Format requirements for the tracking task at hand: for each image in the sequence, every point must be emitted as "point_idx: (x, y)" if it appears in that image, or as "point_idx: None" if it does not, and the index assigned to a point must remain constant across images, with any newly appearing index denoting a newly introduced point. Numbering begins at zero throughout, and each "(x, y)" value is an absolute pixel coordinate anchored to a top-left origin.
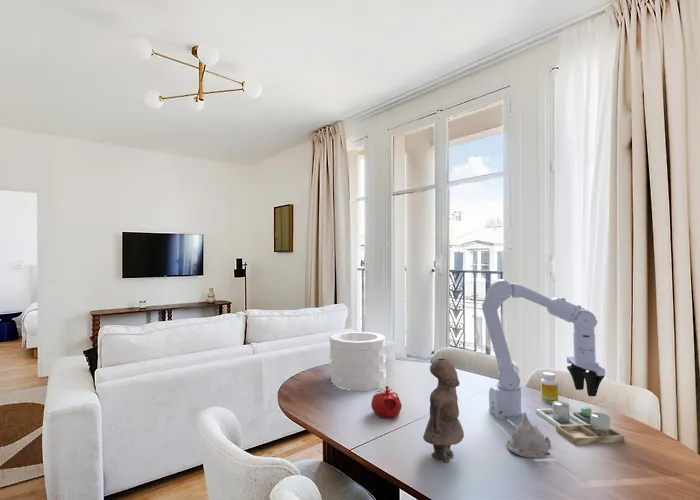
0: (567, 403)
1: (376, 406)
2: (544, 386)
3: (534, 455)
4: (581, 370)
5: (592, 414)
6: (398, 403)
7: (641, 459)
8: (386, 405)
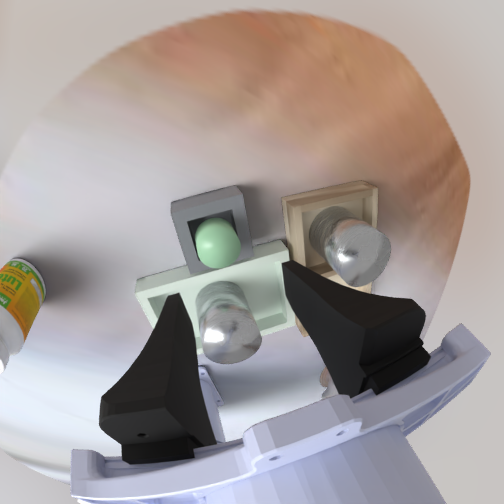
0: (224, 325)
1: None
2: (25, 339)
3: None
4: (188, 407)
5: (355, 281)
6: None
7: (411, 183)
8: None
